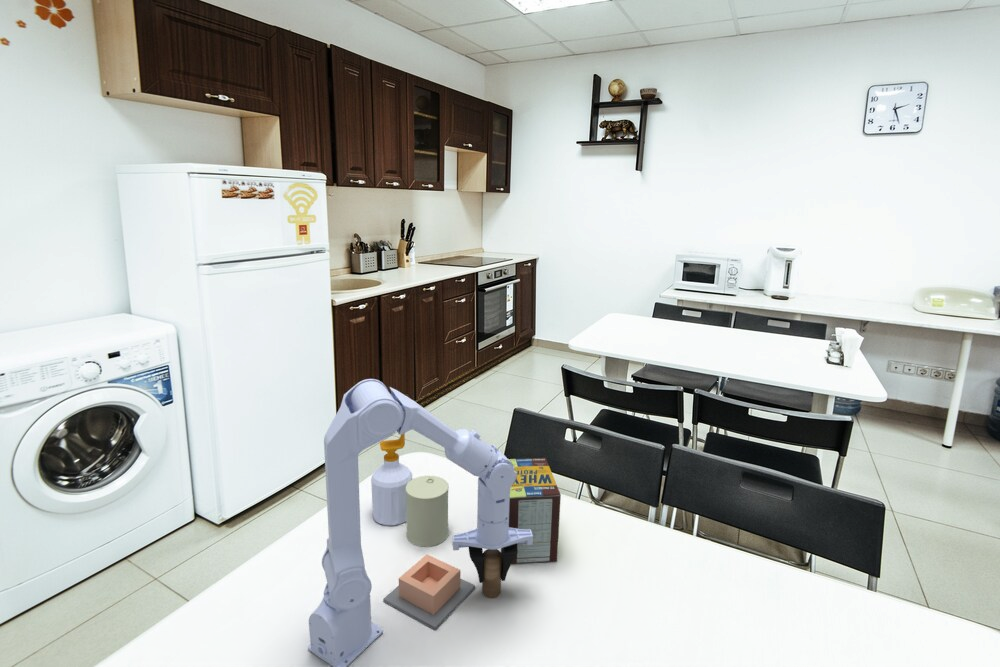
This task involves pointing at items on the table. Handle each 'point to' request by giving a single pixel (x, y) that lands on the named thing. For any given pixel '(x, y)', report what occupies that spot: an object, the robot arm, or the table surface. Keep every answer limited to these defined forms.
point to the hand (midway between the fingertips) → (491, 578)
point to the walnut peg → (492, 573)
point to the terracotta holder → (429, 591)
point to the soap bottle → (390, 485)
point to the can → (427, 510)
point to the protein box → (535, 510)
